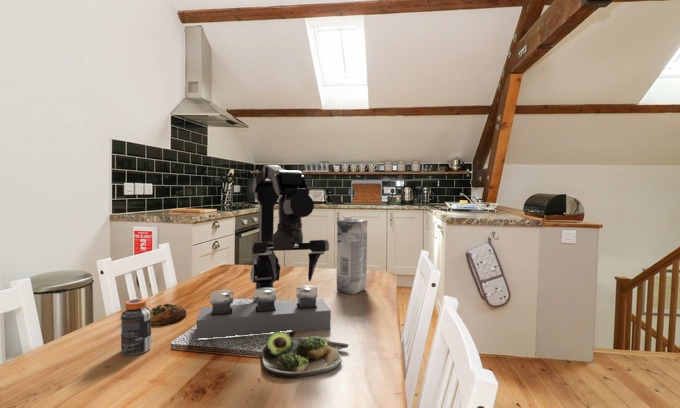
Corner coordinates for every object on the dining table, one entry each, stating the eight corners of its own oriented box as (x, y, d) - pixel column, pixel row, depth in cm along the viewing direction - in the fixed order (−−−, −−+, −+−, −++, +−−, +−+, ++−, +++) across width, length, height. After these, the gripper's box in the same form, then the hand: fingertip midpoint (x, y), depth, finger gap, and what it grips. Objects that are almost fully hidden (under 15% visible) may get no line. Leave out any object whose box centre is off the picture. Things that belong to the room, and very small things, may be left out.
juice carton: (369, 289, 133) (370, 216, 132) (354, 296, 124) (355, 217, 123) (348, 285, 138) (349, 214, 137) (333, 292, 129) (334, 216, 128)
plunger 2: (295, 310, 101) (295, 285, 100) (314, 308, 102) (315, 284, 102) (297, 317, 95) (298, 291, 95) (318, 315, 97) (319, 290, 96)
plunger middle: (254, 313, 98) (254, 288, 98) (275, 311, 99) (275, 286, 99) (255, 320, 93) (255, 294, 92) (277, 319, 94) (277, 292, 94)
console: (201, 325, 97) (201, 307, 96) (322, 315, 105) (322, 298, 105) (196, 341, 87) (196, 320, 87) (330, 329, 95) (330, 310, 95)
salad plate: (340, 338, 91) (340, 320, 91) (360, 374, 73) (360, 351, 73) (261, 344, 86) (261, 325, 86) (262, 384, 69) (262, 360, 69)
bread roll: (189, 321, 100) (186, 303, 99) (144, 334, 94) (141, 315, 94) (184, 310, 109) (181, 294, 109) (142, 322, 104) (139, 305, 103)
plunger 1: (211, 316, 95) (211, 290, 95) (233, 314, 97) (233, 289, 96) (209, 324, 90) (209, 296, 89) (232, 322, 91) (232, 295, 91)
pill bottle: (157, 347, 83) (156, 298, 83) (133, 358, 78) (132, 306, 77) (139, 342, 86) (139, 295, 85) (115, 352, 81) (114, 302, 80)
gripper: (242, 220, 86) (243, 287, 85) (320, 216, 83) (322, 285, 82) (259, 221, 97) (260, 280, 96) (328, 218, 94) (330, 278, 93)
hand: (291, 281), depth 91 cm, fingers open, 9 cm apart
